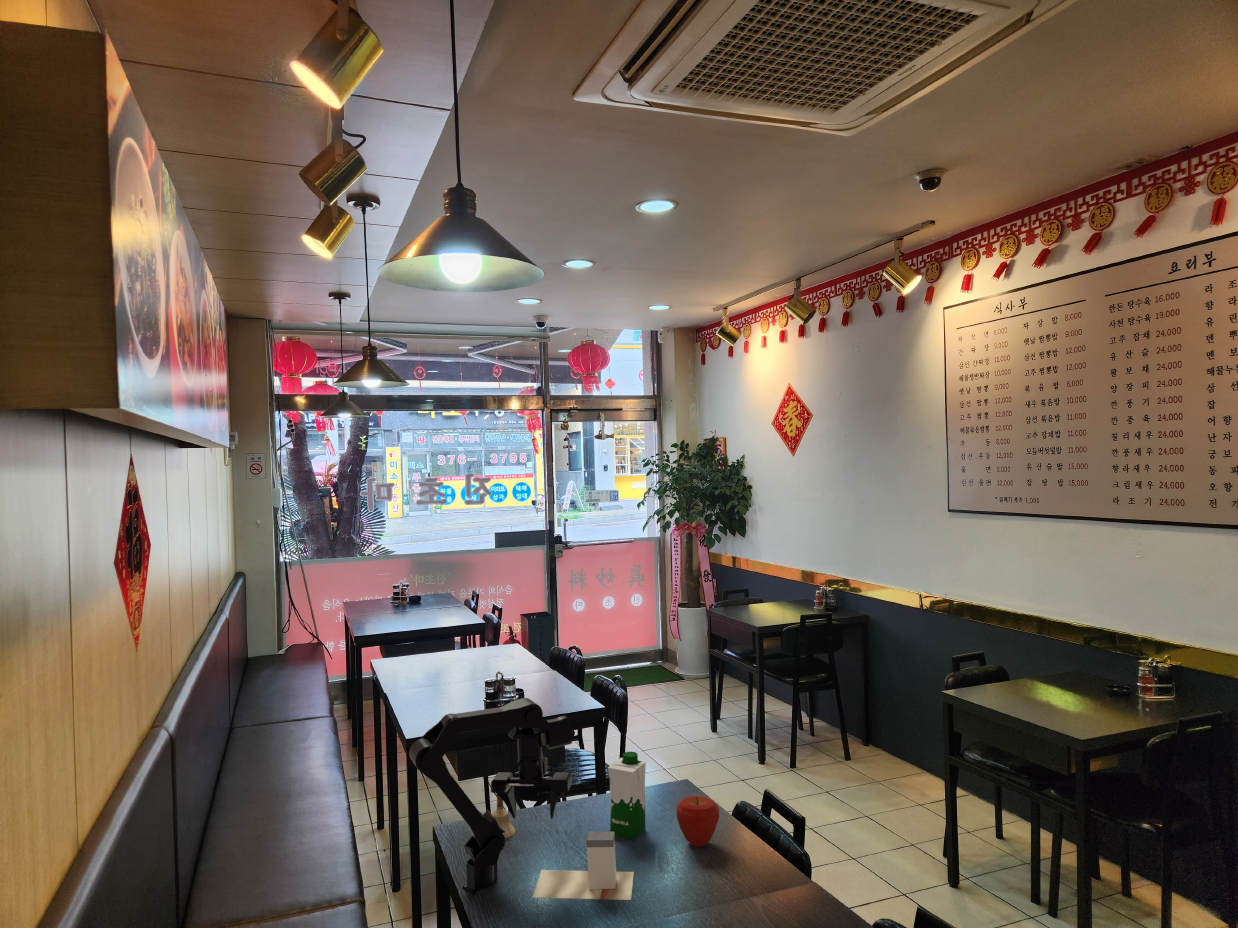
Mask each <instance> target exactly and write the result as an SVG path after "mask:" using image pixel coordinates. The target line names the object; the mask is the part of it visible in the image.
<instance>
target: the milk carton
mask: <svg viewBox="0 0 1238 928" xmlns="http://www.w3.org/2000/svg"><path fill="white" fill-rule="evenodd" d="M638 758H639V757H638V752H635V751H626V752H622V757H620V758H618V759H617V760H616V761H614V762H612V763H611V765H609V766H607V771H608V776H609V797H610V798H609V802H610V804H609V807H610V817H609V818H610V819H609V823H610V824H609V825H610V826H609V832H615V838H619V839H624V840H627V841H632V842H633V841H635V840H636V839H637V838H639V836H641V834H642V833H643V832H644V831H646V767H647V765H646V761H642V760H639V759H638Z"/></svg>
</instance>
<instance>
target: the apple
mask: <svg viewBox="0 0 1238 928" xmlns="http://www.w3.org/2000/svg"><path fill="white" fill-rule="evenodd" d="M676 819H677V823H678V826H679V828H680V831H681V832H682V834H683V835H682V836H683V837H684V839H685V840H686V841H687V842H688V843H689V844H690V845H691V846H693V847H694V848H701V847H704V846H705V845H706V844H708V843H709V842H711V840H712V837H713V835H714V834H715V831H716V828H717V825H718V822H719V820H720V807H719V805H718V804H717V803H715V801H713V800H712V799H710V798H709V797H705V796H701V795H691V796H686V797H684V798H683V799H681V800H680V801H679V802H678V803H677V805H676Z"/></svg>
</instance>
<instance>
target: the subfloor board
mask: <svg viewBox="0 0 1238 928" xmlns="http://www.w3.org/2000/svg"><path fill="white" fill-rule="evenodd" d="M634 872H635V871H616V878H617V880H616V887H615V889H589V880H588V870H565V869H564V870H562V869H561V870H559V869H556V870H555V869H541V870H540V874H539V876H538V880H537V883H536V885H535V888H534V891H533V895H532V899H533V898H537V899H568V900H569V899H572V900H573V899H574V900H610V901H611V900H614V901H619V900H621V901H631V900H632V892H633V883H634V876H635V875H634Z"/></svg>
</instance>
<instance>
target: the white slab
mask: <svg viewBox="0 0 1238 928" xmlns="http://www.w3.org/2000/svg"><path fill="white" fill-rule="evenodd" d="M586 854H587V855H586V857H587V871H588V880H589V889H615V887H616V880H617V878H616V872H617V863H616V862H617V861H616V837H615V832H610V831H588V832H587V836H586Z"/></svg>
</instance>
